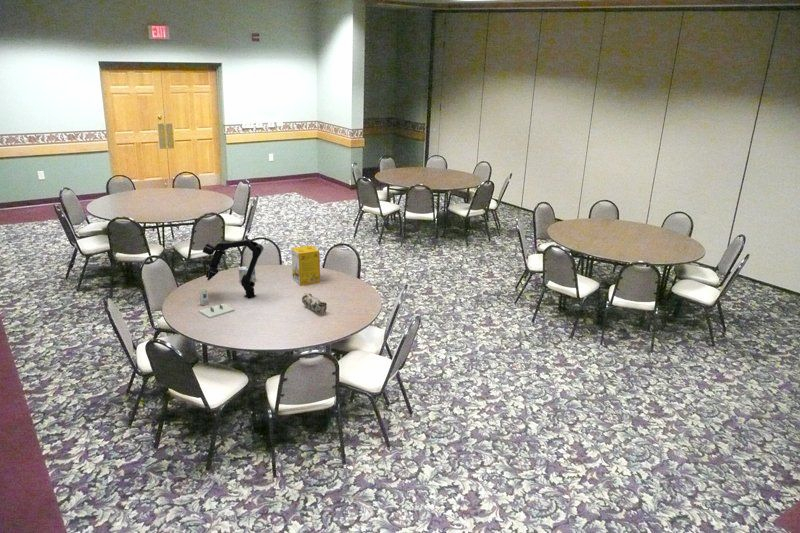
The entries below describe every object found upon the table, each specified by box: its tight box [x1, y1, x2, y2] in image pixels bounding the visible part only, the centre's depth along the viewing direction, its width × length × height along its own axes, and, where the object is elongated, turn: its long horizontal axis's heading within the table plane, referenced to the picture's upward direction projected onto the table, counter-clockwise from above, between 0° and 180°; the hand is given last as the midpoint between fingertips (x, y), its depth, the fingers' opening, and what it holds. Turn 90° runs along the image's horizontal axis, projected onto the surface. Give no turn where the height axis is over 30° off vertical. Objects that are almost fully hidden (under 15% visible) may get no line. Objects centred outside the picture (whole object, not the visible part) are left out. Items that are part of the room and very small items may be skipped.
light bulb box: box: [238, 266, 257, 283], centre depth 438 cm, size 11×7×11 cm, turn 84°
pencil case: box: [301, 291, 328, 316], centre depth 390 cm, size 22×8×10 cm, turn 38°
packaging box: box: [290, 245, 321, 287], centre depth 439 cm, size 16×16×25 cm
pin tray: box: [198, 303, 236, 319], centre depth 385 cm, size 14×18×4 cm
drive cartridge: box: [198, 288, 209, 307], centre depth 395 cm, size 4×4×10 cm
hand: (207, 278), depth 402 cm, fingers open, 9 cm apart
